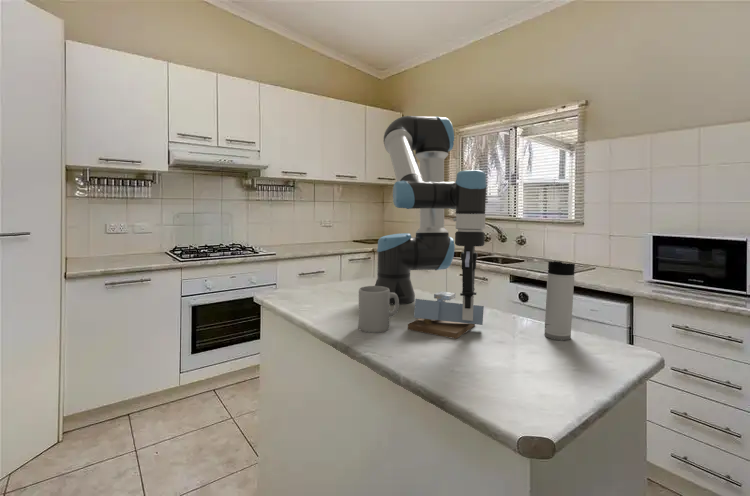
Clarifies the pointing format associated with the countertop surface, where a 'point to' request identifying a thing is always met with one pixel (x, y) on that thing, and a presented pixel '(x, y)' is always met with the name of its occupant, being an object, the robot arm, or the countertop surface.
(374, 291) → the mug
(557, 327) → the travel mug
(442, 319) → the link
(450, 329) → the board
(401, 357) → the countertop surface
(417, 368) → the countertop surface
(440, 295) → the block
